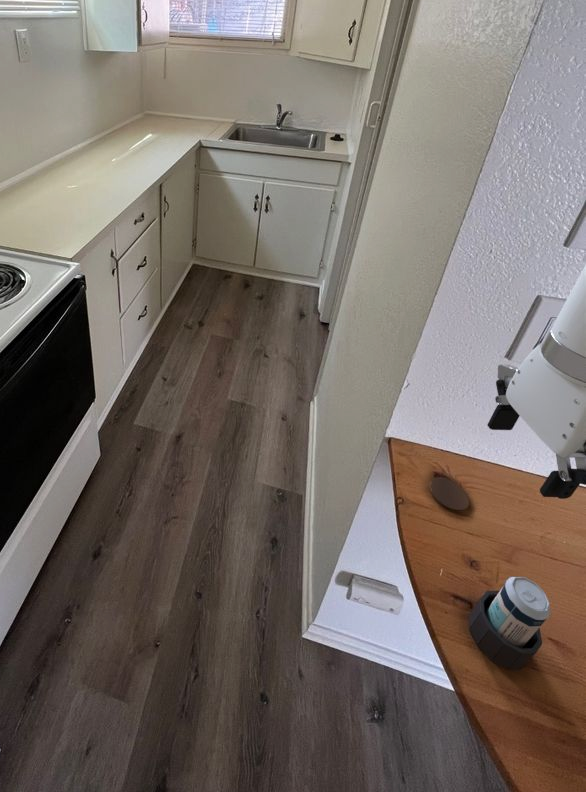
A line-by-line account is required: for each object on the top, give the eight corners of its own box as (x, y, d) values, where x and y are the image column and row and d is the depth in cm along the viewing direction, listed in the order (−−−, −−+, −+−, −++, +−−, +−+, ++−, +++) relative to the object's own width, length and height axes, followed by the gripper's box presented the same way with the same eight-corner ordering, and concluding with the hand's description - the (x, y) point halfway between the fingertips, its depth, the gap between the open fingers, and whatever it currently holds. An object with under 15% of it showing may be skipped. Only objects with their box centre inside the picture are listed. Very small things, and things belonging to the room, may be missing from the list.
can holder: (503, 607, 64) (516, 589, 62) (539, 669, 58) (555, 652, 56) (458, 608, 64) (469, 591, 62) (489, 670, 58) (503, 653, 55)
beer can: (525, 649, 60) (562, 606, 54) (502, 665, 58) (538, 622, 53) (491, 611, 64) (523, 567, 58) (469, 625, 62) (499, 581, 57)
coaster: (454, 478, 83) (455, 476, 82) (475, 511, 77) (477, 509, 77) (422, 479, 82) (423, 477, 82) (441, 512, 77) (442, 510, 77)
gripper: (702, 420, 40) (611, 527, 48) (557, 313, 56) (506, 407, 63) (624, 419, 40) (546, 526, 48) (500, 311, 55) (456, 406, 63)
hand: (523, 458), depth 56 cm, fingers open, 9 cm apart
